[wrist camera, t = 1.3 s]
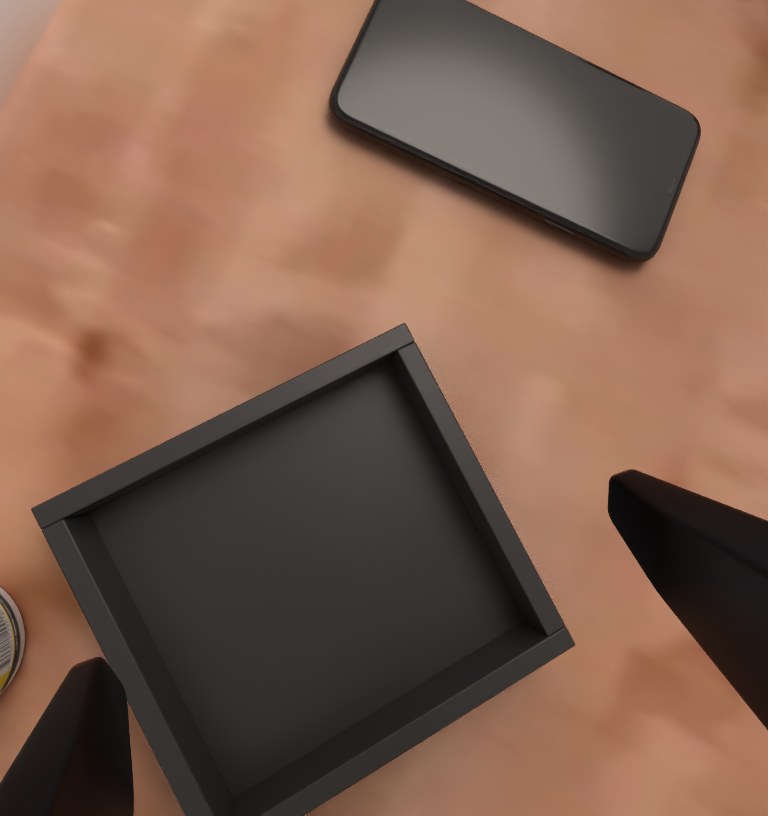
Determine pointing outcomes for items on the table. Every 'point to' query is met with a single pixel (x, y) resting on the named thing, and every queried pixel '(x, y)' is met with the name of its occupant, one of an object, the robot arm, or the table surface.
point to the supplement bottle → (10, 639)
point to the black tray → (304, 584)
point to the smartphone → (518, 121)
